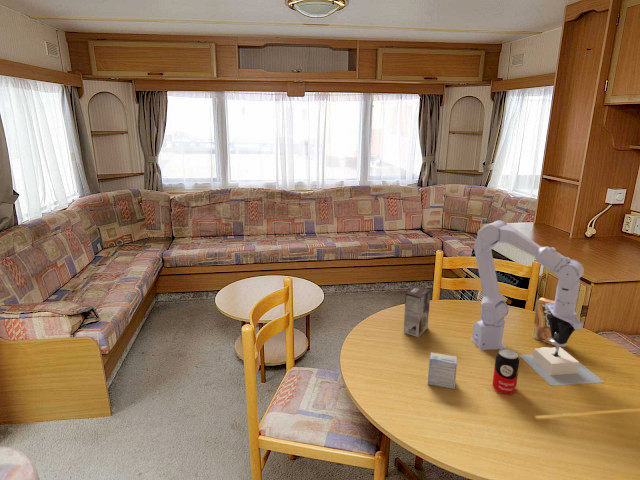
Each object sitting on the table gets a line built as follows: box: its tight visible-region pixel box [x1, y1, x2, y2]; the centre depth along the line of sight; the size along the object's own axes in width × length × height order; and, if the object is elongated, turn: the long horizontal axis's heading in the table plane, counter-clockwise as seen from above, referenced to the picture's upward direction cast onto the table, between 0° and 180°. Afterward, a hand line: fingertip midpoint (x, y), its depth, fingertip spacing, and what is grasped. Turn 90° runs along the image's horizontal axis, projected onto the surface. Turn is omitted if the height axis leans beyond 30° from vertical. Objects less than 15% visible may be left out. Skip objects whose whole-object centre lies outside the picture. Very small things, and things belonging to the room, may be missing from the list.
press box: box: [533, 346, 580, 375], centre depth 133 cm, size 9×11×4 cm
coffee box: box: [403, 285, 431, 338], centre depth 155 cm, size 9×6×16 cm
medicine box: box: [427, 352, 458, 390], centre depth 124 cm, size 8×4×9 cm, turn 71°
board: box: [518, 353, 605, 387], centre depth 132 cm, size 17×17×1 cm
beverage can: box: [491, 348, 521, 395], centre depth 120 cm, size 6×6×12 cm
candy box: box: [531, 297, 556, 347], centre depth 147 cm, size 9×4×15 cm, turn 44°
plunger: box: [549, 330, 569, 356], centre depth 130 cm, size 5×5×8 cm
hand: (558, 339), depth 130 cm, fingers closed on plunger, 3 cm apart
